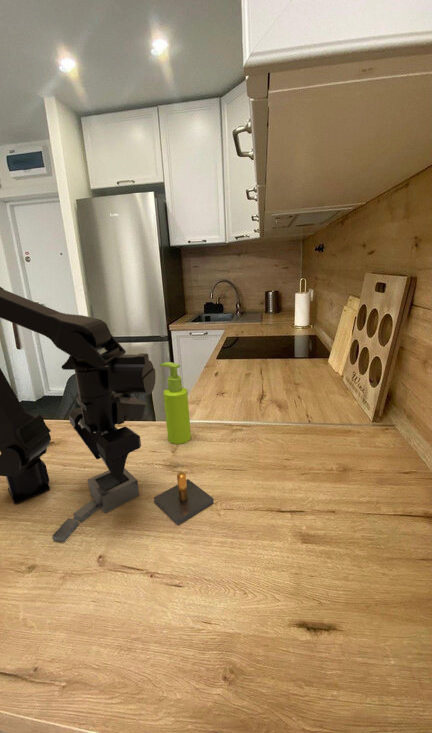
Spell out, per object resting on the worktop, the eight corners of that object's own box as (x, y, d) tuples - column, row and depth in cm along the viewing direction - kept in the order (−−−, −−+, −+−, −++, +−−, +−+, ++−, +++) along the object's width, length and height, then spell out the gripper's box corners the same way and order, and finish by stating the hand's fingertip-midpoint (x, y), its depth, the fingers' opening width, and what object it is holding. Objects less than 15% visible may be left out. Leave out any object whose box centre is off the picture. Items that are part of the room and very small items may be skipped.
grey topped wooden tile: (81, 523, 58) (80, 517, 58) (74, 520, 59) (73, 513, 59) (99, 509, 61) (98, 503, 61) (92, 506, 62) (91, 499, 62)
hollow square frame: (104, 513, 60) (101, 497, 59) (90, 495, 65) (87, 479, 64) (139, 495, 64) (137, 479, 63) (123, 479, 69) (121, 464, 68)
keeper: (178, 525, 56) (175, 496, 54) (154, 501, 62) (151, 474, 60) (213, 502, 61) (212, 475, 59) (188, 483, 67) (186, 457, 65)
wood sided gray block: (64, 544, 54) (62, 537, 53) (53, 542, 54) (52, 535, 54) (79, 526, 58) (78, 519, 57) (69, 524, 58) (68, 518, 58)
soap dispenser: (176, 429, 89) (170, 358, 83) (195, 436, 85) (190, 363, 79) (160, 438, 85) (152, 364, 79) (179, 446, 81) (172, 369, 75)
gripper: (163, 393, 56) (171, 472, 60) (116, 370, 69) (125, 435, 74) (99, 413, 49) (113, 500, 54) (61, 383, 63) (75, 454, 67)
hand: (108, 468), depth 62 cm, fingers open, 9 cm apart
